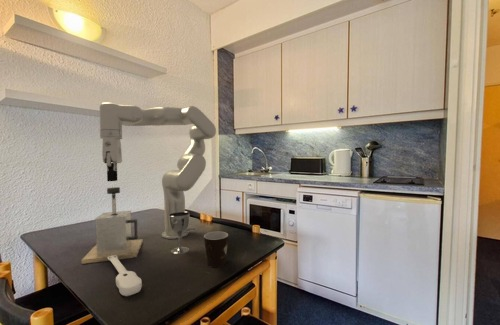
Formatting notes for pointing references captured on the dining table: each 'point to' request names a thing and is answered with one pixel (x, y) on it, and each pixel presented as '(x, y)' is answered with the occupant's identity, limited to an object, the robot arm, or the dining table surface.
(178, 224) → the wine glass
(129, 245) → the press
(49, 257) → the dining table surface
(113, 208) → the plunger
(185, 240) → the dining table surface
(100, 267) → the dining table surface
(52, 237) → the dining table surface
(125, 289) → the white toy guitar
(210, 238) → the coffee mug
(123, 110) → the robot arm
